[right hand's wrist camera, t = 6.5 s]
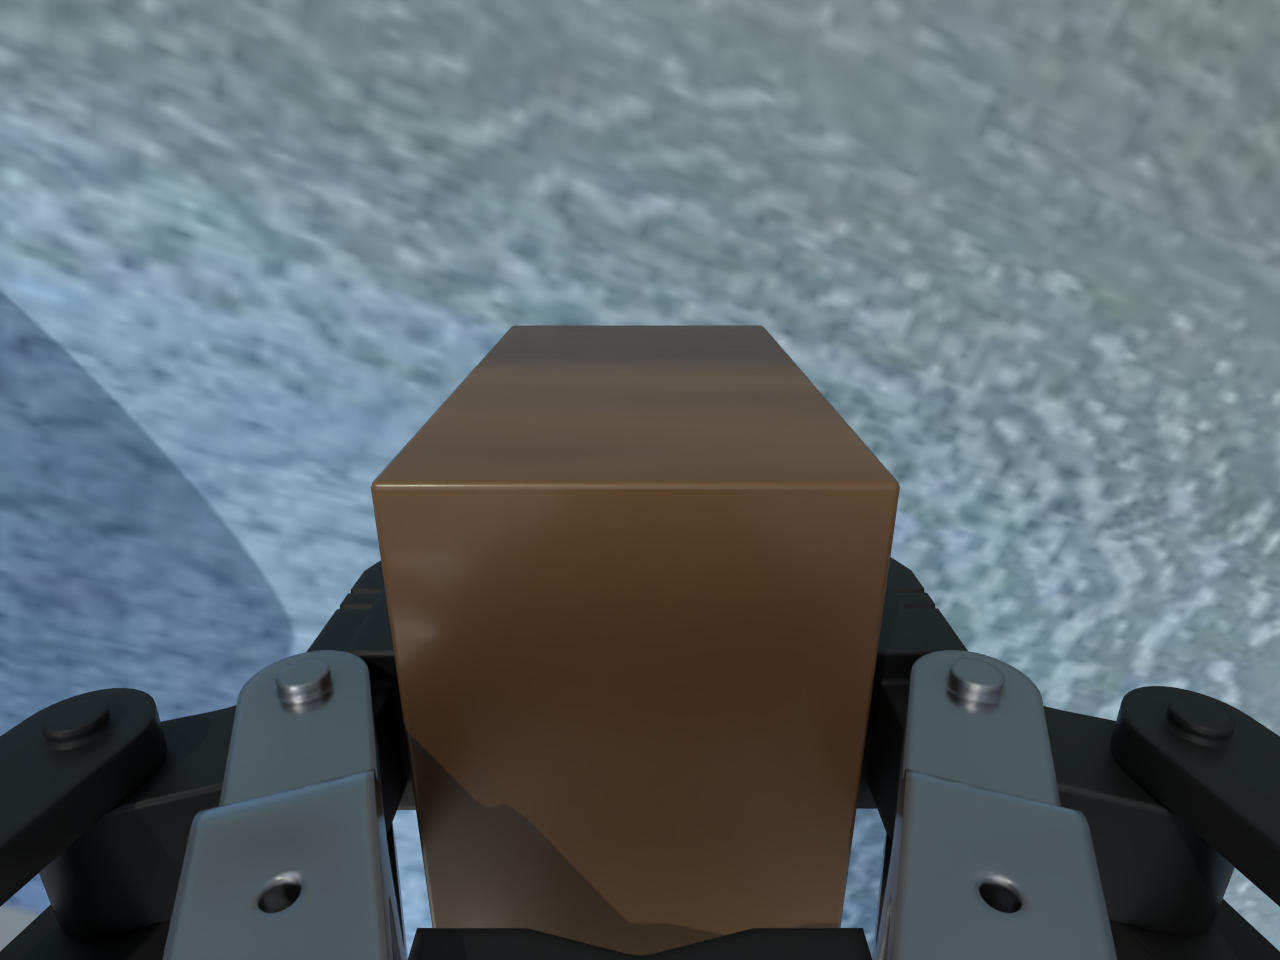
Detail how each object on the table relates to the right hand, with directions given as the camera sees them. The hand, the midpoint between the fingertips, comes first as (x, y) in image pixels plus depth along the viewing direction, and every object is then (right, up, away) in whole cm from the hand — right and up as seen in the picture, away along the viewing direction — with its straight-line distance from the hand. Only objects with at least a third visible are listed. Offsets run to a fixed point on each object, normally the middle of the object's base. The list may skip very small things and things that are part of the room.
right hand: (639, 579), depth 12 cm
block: (0, -6, +6) cm, 9 cm away
